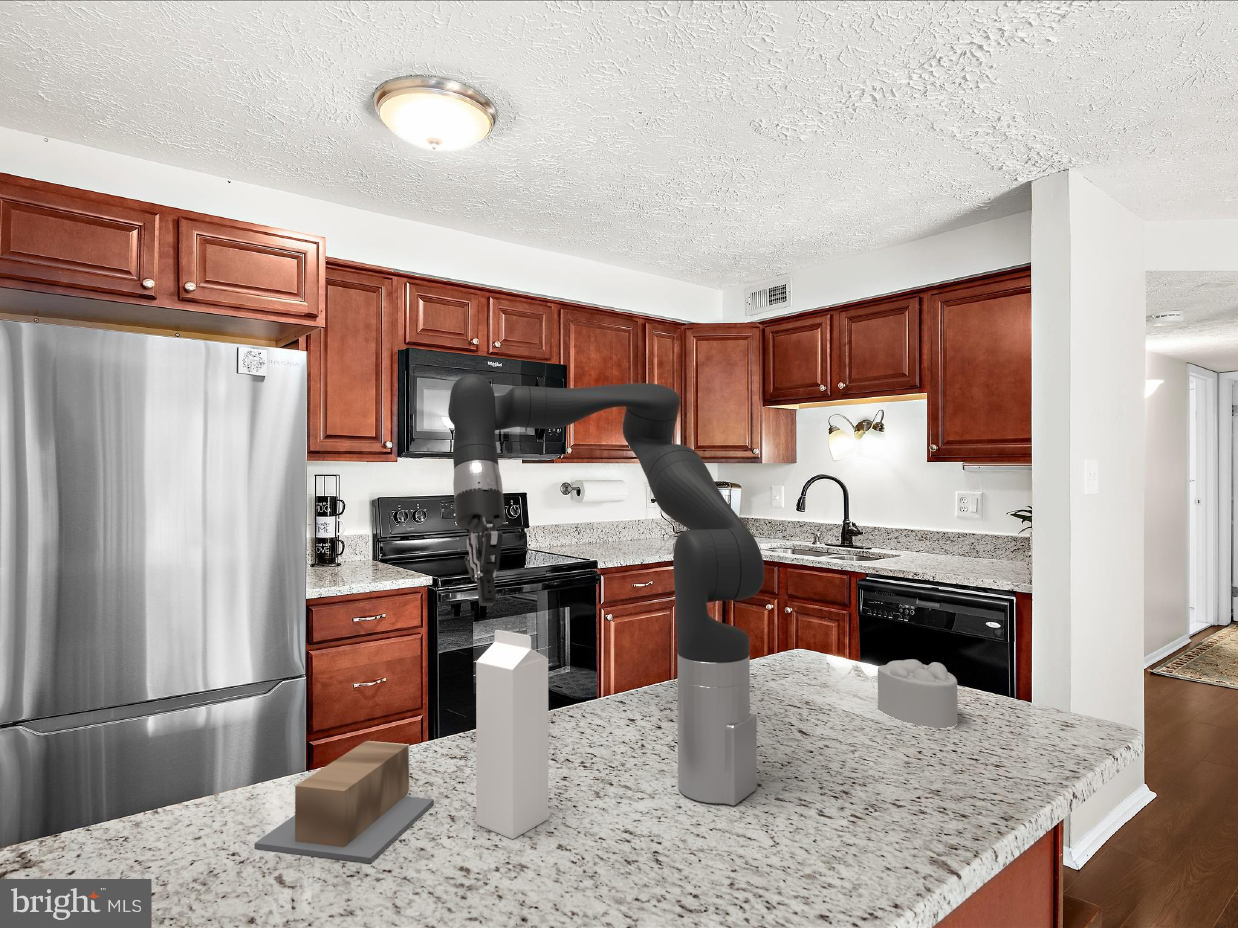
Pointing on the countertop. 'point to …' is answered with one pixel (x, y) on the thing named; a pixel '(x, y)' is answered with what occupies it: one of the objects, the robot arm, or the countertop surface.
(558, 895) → the countertop surface
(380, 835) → the mat
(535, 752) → the milk
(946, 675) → the lumpy-topped squat cylinder
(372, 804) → the light wood block
